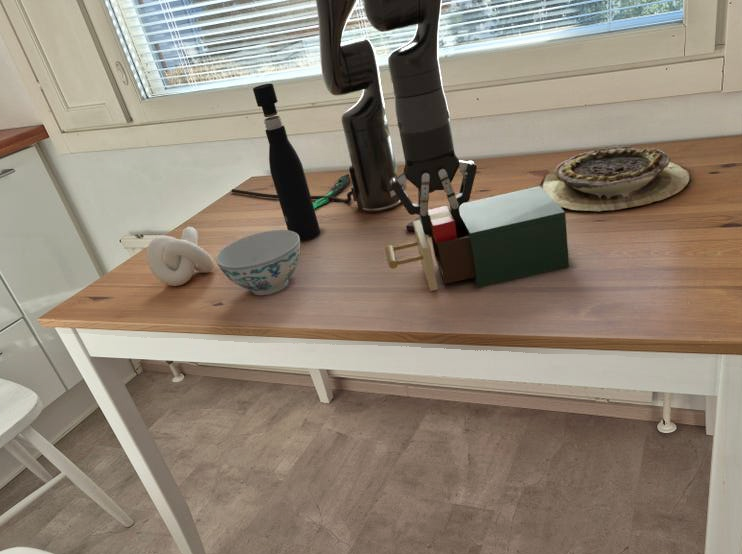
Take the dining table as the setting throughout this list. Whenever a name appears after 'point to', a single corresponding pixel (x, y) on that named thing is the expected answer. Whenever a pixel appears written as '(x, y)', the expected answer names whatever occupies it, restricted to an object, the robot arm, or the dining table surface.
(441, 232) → the red yellow striped block
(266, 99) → the black water bottle
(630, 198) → the pie
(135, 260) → the dining table surface
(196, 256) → the white knot sculpture
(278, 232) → the chinaware
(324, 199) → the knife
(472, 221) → the cabinet
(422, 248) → the drawer
